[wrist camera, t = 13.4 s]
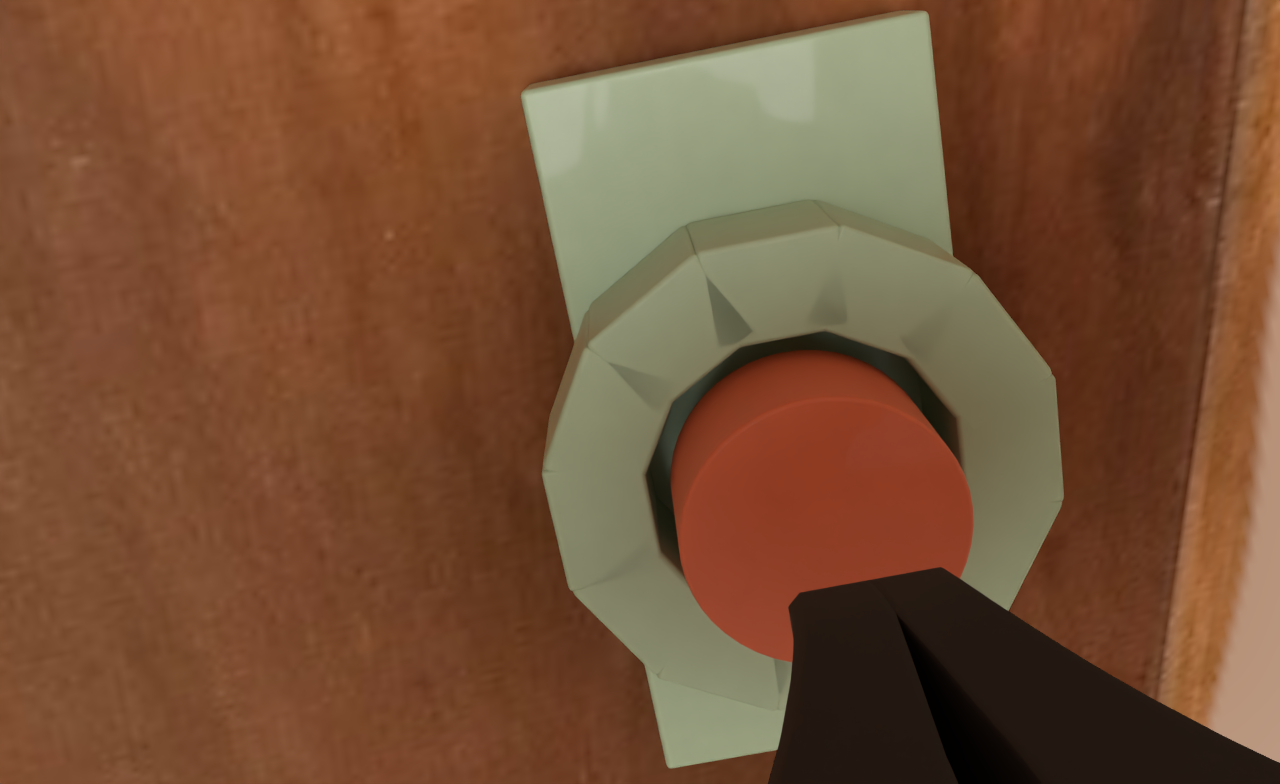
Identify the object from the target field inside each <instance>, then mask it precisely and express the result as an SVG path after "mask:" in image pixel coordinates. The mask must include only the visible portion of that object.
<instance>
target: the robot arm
mask: <svg viewBox="0 0 1280 784" xmlns="http://www.w3.org/2000/svg"><path fill="white" fill-rule="evenodd" d="M788 609H789V615H790V621H791V627H792V633H793V660H792V671H791V681H790V687H789V693H788V698H787V704H786V709H785V715H784V721H783V726H782V732H781V737H780V741H779V745H778V750H777V753H776V757H775V760H774V764H773V767H772V771H771V774H770V778H769V782H768V784H1280V763H1279V762H1276V761H1274V760H1272V759H1270V758H1268V757H1266V756H1264V755H1261V754H1259V753H1257V752H1255V751H1253V750H1251V749H1249V748H1247V747H1245V746H1243V745H1241V744H1238V743H1236V742H1234V741H1232V740H1230V739H1228V738H1226V737H1224V736H1222V735H1220V734H1218V733H1216V732H1214V731H1213V730H1211V729H1209V728H1207V727H1205V726H1203V725H1201V724H1199V723H1198V722H1196V721H1194V720H1192V719H1190V718H1188V717H1186V716H1184V715H1182V714H1180V713H1179V712H1177V711H1175V710H1173V709H1171V708H1169V707H1167V706H1165V705H1163V704H1161V703H1160V702H1158V701H1156V700H1154V699H1152V698H1150V697H1148V696H1147V695H1145V694H1143V693H1141V692H1140V691H1138V690H1136V689H1134V688H1133V687H1131V686H1129V685H1127V684H1126V683H1124V682H1122V681H1120V680H1118V679H1117V678H1115V677H1113V676H1112V675H1110V674H1108V673H1106V672H1105V671H1103V670H1101V669H1100V668H1098V667H1096V666H1095V665H1093V664H1091V663H1090V662H1088V661H1086V660H1085V659H1083V658H1081V657H1080V656H1078V655H1077V654H1075V653H1073V652H1072V651H1070V650H1068V649H1067V648H1065V647H1063V646H1062V645H1060V644H1059V643H1057V642H1056V641H1054V640H1052V639H1051V638H1049V637H1048V636H1046V635H1044V634H1043V633H1041V632H1040V631H1038V630H1037V629H1035V628H1034V627H1032V626H1030V625H1029V624H1027V623H1026V622H1024V621H1023V620H1021V619H1020V618H1018V617H1017V616H1015V615H1014V614H1012V613H1011V612H1009V611H1008V610H1006V609H1004V608H1003V607H1001V606H1000V605H998V604H997V603H995V602H994V601H992V600H991V599H989V598H988V597H986V596H985V595H984V594H982V593H981V592H979V591H978V590H976V589H975V588H973V587H972V586H970V585H969V584H967V583H966V582H964V581H963V580H961V579H960V578H958V577H957V576H955V575H953V574H952V573H950V572H949V571H947V570H946V569H944V568H942V567H937V568H932V569H926V570H921V571H915V572H910V573H905V574H899V575H894V576H888V577H883V578H877V579H872V580H866V581H861V582H855V583H850V584H844V585H839V586H833V587H828V588H822V589H817V590H811V591H806V592H800V593H799V594H798V595H797V596H796V598H795V599H794V600H793V601H792V603H791V604H790V605H789V606H788Z"/></svg>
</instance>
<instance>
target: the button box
mask: <svg viewBox="0 0 1280 784" xmlns="http://www.w3.org/2000/svg"><path fill="white" fill-rule="evenodd" d="M521 101H522V106H523V111H524V115H525V120H526V124H527V129H528V134H529V138H530V143H531V147H532V152H533V156H534V161H535V166H536V170H537V175H538V179H539V184H540V189H541V193H542V198H543V202H544V207H545V211H546V216H547V221H548V225H549V230H550V234H551V239H552V243H553V248H554V253H555V257H556V262H557V266H558V271H559V276H560V280H561V285H562V289H563V294H564V298H565V303H566V308H567V312H568V317H569V321H570V326H571V331H572V335H573V340H574V346H573V349H572V352H571V355H570V358H569V361H568V364H567V367H566V370H565V372H564V375H563V378H562V381H561V384H560V387H559V390H558V393H557V396H556V399H555V402H554V405H553V407H552V410H551V413H550V417H549V424H548V431H547V438H546V445H545V452H544V460H543V469H542V478H543V482H544V487H545V491H546V495H547V499H548V503H549V508H550V512H551V516H552V520H553V525H554V529H555V533H556V537H557V541H558V546H559V550H560V554H561V558H562V562H563V567H564V571H565V575H566V579H567V583H568V587H569V589H570V590H571V591H573V593H574V595H575V596H576V597H577V598H578V599H579V600H580V601H581V602H582V603H583V604H584V605H585V606H586V607H587V608H588V609H589V610H590V611H591V612H592V613H593V614H594V615H595V616H596V617H597V618H598V619H599V620H600V621H601V622H602V623H603V624H604V625H605V626H606V627H607V628H608V629H609V630H610V631H611V632H612V633H613V634H614V635H615V636H616V637H617V638H618V639H619V640H620V641H621V642H622V643H623V644H624V645H625V646H626V647H627V648H628V649H629V650H630V651H631V652H632V653H633V654H634V655H635V656H636V657H637V658H638V659H639V660H641V661H642V662H643V663H644V665H645V669H646V674H647V679H648V683H649V688H650V692H651V697H652V702H653V706H654V711H655V715H656V720H657V724H658V729H659V734H660V738H661V743H662V747H663V752H664V757H665V761H666V764H667V766H668V767H669V768H677V767H683V766H689V765H694V764H700V763H706V762H711V761H717V760H722V759H728V758H734V757H739V756H745V755H751V754H756V753H762V752H768V751H773V750H778V745H779V741H780V737H781V732H782V726H783V721H784V715H785V709H786V704H787V698H788V693H789V687H790V681H791V671H792V662H788V661H783V660H779V659H774V658H771V657H769V656H766V655H763V654H760V653H757V652H755V651H753V650H751V649H749V648H747V647H745V646H743V645H742V644H740V643H738V642H737V641H735V640H734V639H733V638H731V637H730V636H728V635H727V634H725V633H724V632H723V631H722V630H721V629H720V628H719V627H717V626H716V625H715V624H714V623H713V622H712V621H711V620H710V618H709V617H708V616H707V615H706V614H705V613H704V611H703V610H702V609H701V607H700V606H699V604H698V603H697V601H696V599H695V598H694V596H693V595H692V593H691V590H690V588H689V586H688V583H687V581H686V579H685V575H684V572H683V568H682V565H681V560H680V552H679V545H678V537H677V530H676V522H675V515H674V507H673V500H672V492H671V464H672V457H673V452H674V448H675V445H676V442H677V439H678V436H679V434H680V431H681V429H682V427H683V425H684V423H685V421H686V419H687V418H688V416H689V414H690V413H691V411H692V410H693V408H694V407H695V406H696V404H697V403H698V402H699V401H700V400H701V398H702V397H703V396H704V395H705V394H706V393H707V392H708V391H709V390H710V389H711V388H712V387H713V386H714V385H715V384H716V383H718V382H719V381H720V380H722V379H723V378H724V377H726V376H727V375H729V374H730V373H731V372H733V371H735V370H737V369H738V368H740V367H742V366H744V365H746V364H748V363H750V362H752V361H755V360H758V359H760V358H763V357H765V356H769V355H773V354H777V353H781V352H788V351H796V350H822V351H830V352H836V353H840V354H844V355H848V356H852V357H854V358H857V359H859V360H861V361H864V362H866V363H869V364H870V365H872V366H874V367H875V368H877V369H879V370H881V371H882V372H884V373H885V374H886V375H887V376H889V377H890V378H891V379H893V380H894V381H895V382H896V383H897V384H898V385H899V386H900V387H901V388H902V389H903V390H904V391H905V392H906V393H907V394H908V396H909V397H910V398H911V400H912V401H913V402H914V403H915V405H916V406H917V407H918V409H919V410H920V411H921V412H922V414H923V415H924V416H925V418H926V419H927V420H928V421H929V423H930V424H931V425H932V427H933V428H934V429H935V430H936V432H937V433H938V434H939V436H940V437H941V438H942V440H943V441H944V442H945V443H946V445H947V446H948V447H949V449H950V450H951V452H952V453H953V454H954V456H955V457H956V459H957V461H958V463H959V465H960V467H961V468H962V470H963V472H964V474H965V477H966V480H967V483H968V486H969V489H970V493H971V499H972V505H973V520H974V527H973V536H972V544H971V548H970V552H969V556H968V559H967V563H966V565H965V568H964V570H963V573H962V575H961V577H960V579H961V580H963V581H964V582H966V583H967V584H969V585H970V586H972V587H973V588H975V589H976V590H978V591H979V592H981V593H982V594H984V595H985V596H986V597H988V598H989V599H991V600H992V601H994V602H995V603H997V604H998V605H1000V606H1001V607H1003V608H1004V609H1006V610H1009V609H1010V607H1011V605H1012V603H1013V601H1014V599H1015V597H1016V595H1017V593H1018V591H1019V589H1020V587H1021V585H1022V583H1023V581H1024V579H1025V577H1026V575H1027V573H1028V571H1029V569H1030V567H1031V565H1032V563H1033V561H1034V559H1035V557H1036V556H1037V554H1038V552H1039V550H1040V548H1041V546H1042V544H1043V542H1044V540H1045V538H1046V536H1047V534H1048V532H1049V530H1050V528H1051V526H1052V524H1053V522H1054V520H1055V518H1056V516H1057V514H1058V512H1059V510H1060V508H1061V506H1062V500H1063V498H1064V490H1063V476H1062V462H1061V448H1060V435H1059V421H1058V407H1057V393H1056V380H1055V377H1054V376H1053V375H1052V373H1051V369H1050V367H1049V366H1048V364H1047V363H1046V362H1045V361H1044V359H1043V358H1042V357H1041V355H1040V354H1039V353H1038V352H1037V350H1036V349H1035V348H1034V346H1033V345H1032V344H1031V343H1030V341H1029V340H1028V339H1027V337H1026V336H1025V335H1024V334H1023V332H1022V331H1021V330H1020V328H1019V327H1018V326H1017V325H1016V323H1015V322H1014V321H1013V319H1012V318H1011V317H1010V316H1009V314H1008V313H1007V312H1006V310H1005V309H1004V308H1003V307H1002V305H1001V304H1000V303H999V301H998V300H997V299H996V298H995V296H994V295H993V294H992V292H991V291H990V290H989V289H988V287H987V286H986V285H985V283H984V282H983V281H982V280H981V278H980V277H979V276H978V275H977V274H976V273H974V272H973V271H972V270H971V269H970V268H969V267H967V266H966V265H964V264H963V263H962V262H960V261H959V260H958V259H956V258H955V257H953V250H952V240H951V230H950V220H949V210H948V200H947V190H946V180H945V170H944V160H943V150H942V140H941V130H940V120H939V110H938V100H937V90H936V80H935V70H934V60H933V50H932V40H931V30H930V20H929V15H928V13H927V12H926V11H920V10H899V11H894V12H889V13H884V14H879V15H874V16H869V17H864V18H859V19H854V20H849V21H844V22H839V23H834V24H829V25H824V26H819V27H814V28H809V29H804V30H799V31H794V32H789V33H784V34H779V35H774V36H769V37H764V38H759V39H754V40H749V41H744V42H739V43H734V44H729V45H724V46H719V47H714V48H709V49H704V50H699V51H694V52H689V53H684V54H679V55H674V56H669V57H664V58H659V59H654V60H649V61H644V62H639V63H634V64H629V65H624V66H619V67H613V68H608V69H603V70H598V71H593V72H588V73H583V74H578V75H573V76H568V77H563V78H558V79H553V80H548V81H543V82H538V83H533V84H530V85H529V86H527V87H526V88H525V89H524V90H523V91H522V92H521Z"/></svg>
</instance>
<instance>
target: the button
mask: <svg viewBox="0 0 1280 784" xmlns="http://www.w3.org/2000/svg"><path fill="white" fill-rule="evenodd" d="M671 492H672V500H673V507H674V515H675V522H676V530H677V537H678V545H679V552H680V560H681V565H682V568H683V572H684V575H685V579H686V581H687V583H688V586H689V588H690V590H691V593H692V595H693V596H694V598H695V599H696V601H697V603H698V604H699V606H700V607H701V609H702V610H703V611H704V613H705V614H706V615H707V616H708V617H709V618H710V620H711V621H712V622H713V623H714V624H715V625H716V626H717V627H719V628H720V629H721V630H722V631H723V632H724V633H725V634H727V635H728V636H730V637H731V638H733V639H734V640H735V641H737V642H738V643H740V644H742V645H743V646H745V647H747V648H749V649H751V650H753V651H755V652H757V653H760V654H763V655H766V656H769V657H771V658H774V659H779V660H783V661H788V662H792V660H793V633H792V627H791V621H790V615H789V609H788V606H789V605H790V604H791V603H792V601H793V600H794V599H795V598H796V596H797V595H798V594H799V593H800V592H806V591H811V590H817V589H822V588H828V587H833V586H839V585H844V584H850V583H855V582H861V581H866V580H872V579H877V578H883V577H888V576H894V575H899V574H905V573H910V572H915V571H921V570H926V569H932V568H937V567H942V568H944V569H946V570H947V571H949V572H950V573H952V574H953V575H955V576H957V577H958V578H960V577H961V575H962V573H963V570H964V568H965V565H966V563H967V559H968V556H969V552H970V548H971V544H972V536H973V527H974V520H973V505H972V499H971V493H970V489H969V486H968V483H967V480H966V477H965V474H964V472H963V470H962V468H961V467H960V465H959V463H958V461H957V459H956V457H955V456H954V454H953V453H952V452H951V450H950V449H949V447H948V446H947V445H946V443H945V442H944V441H943V440H942V438H941V437H940V436H939V434H938V433H937V432H936V430H935V429H934V428H933V427H932V425H931V424H930V423H929V421H928V420H927V419H926V418H925V416H924V415H923V414H922V412H921V411H920V410H919V409H918V407H917V406H916V405H915V403H914V402H913V401H912V400H911V398H910V397H909V396H908V394H907V393H906V392H905V391H904V390H903V389H902V388H901V387H900V386H899V385H898V384H897V383H896V382H895V381H894V380H893V379H891V378H890V377H889V376H887V375H886V374H885V373H884V372H882V371H881V370H879V369H877V368H875V367H874V366H872V365H870V364H869V363H866V362H864V361H861V360H859V359H857V358H854V357H852V356H848V355H844V354H840V353H836V352H830V351H822V350H796V351H788V352H781V353H777V354H773V355H769V356H765V357H763V358H760V359H758V360H755V361H752V362H750V363H748V364H746V365H744V366H742V367H740V368H738V369H737V370H735V371H733V372H731V373H730V374H729V375H727V376H726V377H724V378H723V379H722V380H720V381H719V382H718V383H716V384H715V385H714V386H713V387H712V388H711V389H710V390H709V391H708V392H707V393H706V394H705V395H704V396H703V397H702V398H701V400H700V401H699V402H698V403H697V404H696V406H695V407H694V408H693V410H692V411H691V413H690V414H689V416H688V418H687V419H686V421H685V423H684V425H683V427H682V429H681V431H680V434H679V436H678V439H677V442H676V445H675V448H674V452H673V457H672V464H671Z"/></svg>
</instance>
